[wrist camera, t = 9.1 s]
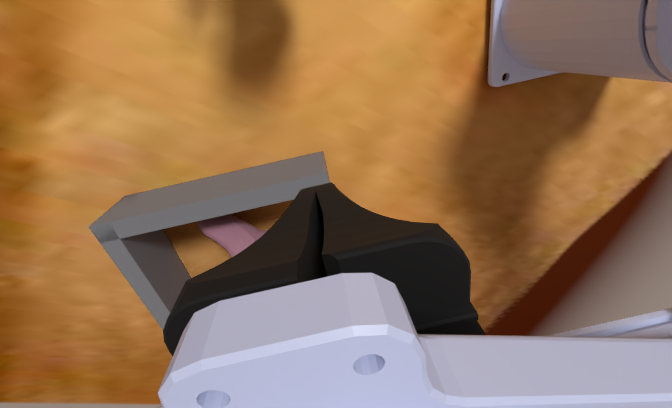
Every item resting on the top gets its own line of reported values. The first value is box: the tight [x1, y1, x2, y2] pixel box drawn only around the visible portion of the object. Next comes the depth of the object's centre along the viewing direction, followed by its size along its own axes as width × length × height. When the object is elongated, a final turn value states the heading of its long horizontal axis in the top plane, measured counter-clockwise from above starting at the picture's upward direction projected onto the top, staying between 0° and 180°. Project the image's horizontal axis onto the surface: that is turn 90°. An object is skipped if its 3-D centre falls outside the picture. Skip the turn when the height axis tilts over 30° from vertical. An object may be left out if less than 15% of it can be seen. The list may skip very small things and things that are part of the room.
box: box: [89, 151, 330, 330], centre depth 24 cm, size 14×20×4 cm
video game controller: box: [198, 214, 267, 258], centre depth 22 cm, size 10×5×7 cm, turn 174°
